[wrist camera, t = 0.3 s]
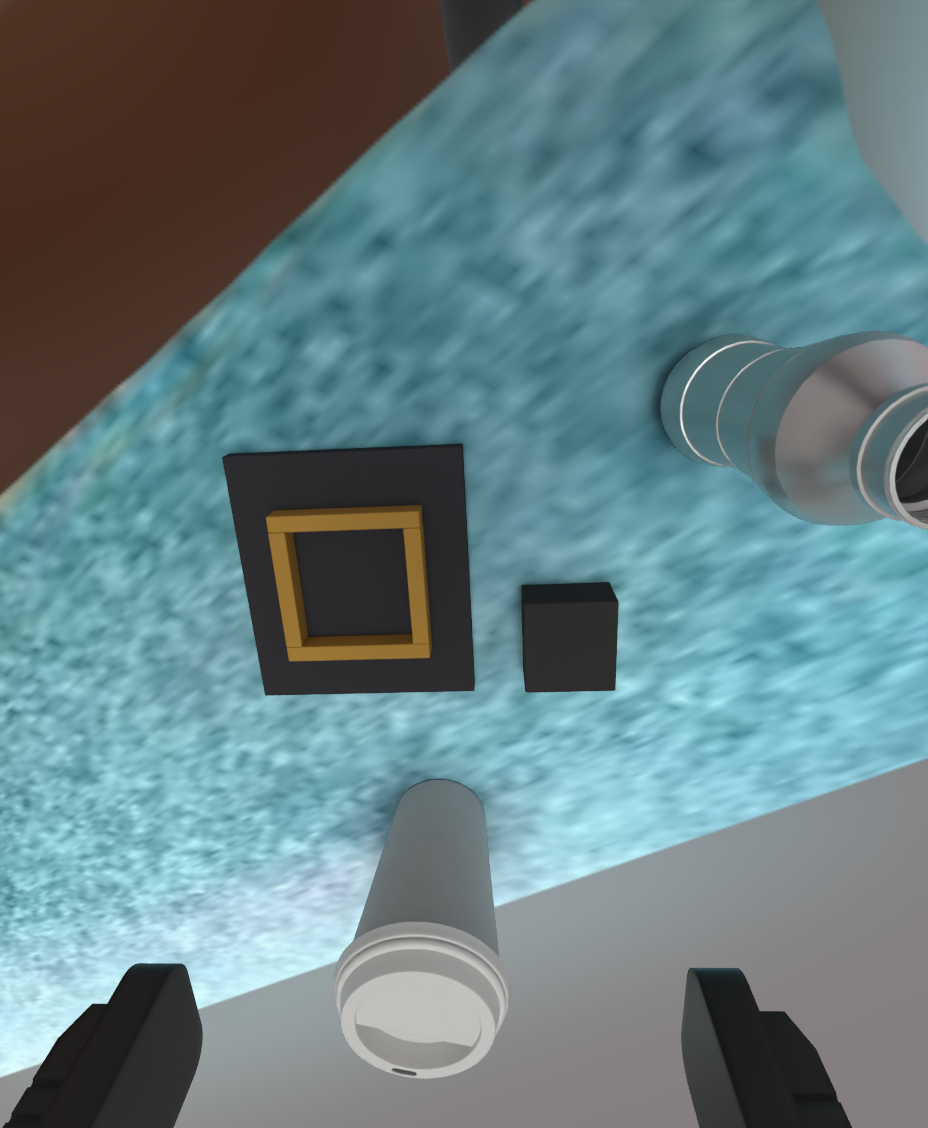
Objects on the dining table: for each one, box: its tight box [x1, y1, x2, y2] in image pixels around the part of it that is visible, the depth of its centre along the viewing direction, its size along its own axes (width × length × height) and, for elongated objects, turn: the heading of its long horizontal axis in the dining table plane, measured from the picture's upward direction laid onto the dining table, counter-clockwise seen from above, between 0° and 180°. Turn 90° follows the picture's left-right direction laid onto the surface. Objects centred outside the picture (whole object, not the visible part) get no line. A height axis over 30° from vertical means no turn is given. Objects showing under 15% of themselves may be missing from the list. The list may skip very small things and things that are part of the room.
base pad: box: [222, 444, 475, 695], centre depth 39 cm, size 16×14×2 cm
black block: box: [522, 583, 618, 692], centre depth 39 cm, size 6×6×3 cm
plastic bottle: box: [660, 331, 928, 530], centre depth 26 cm, size 6×7×20 cm
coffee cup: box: [334, 780, 511, 1078], centre depth 39 cm, size 10×10×15 cm
